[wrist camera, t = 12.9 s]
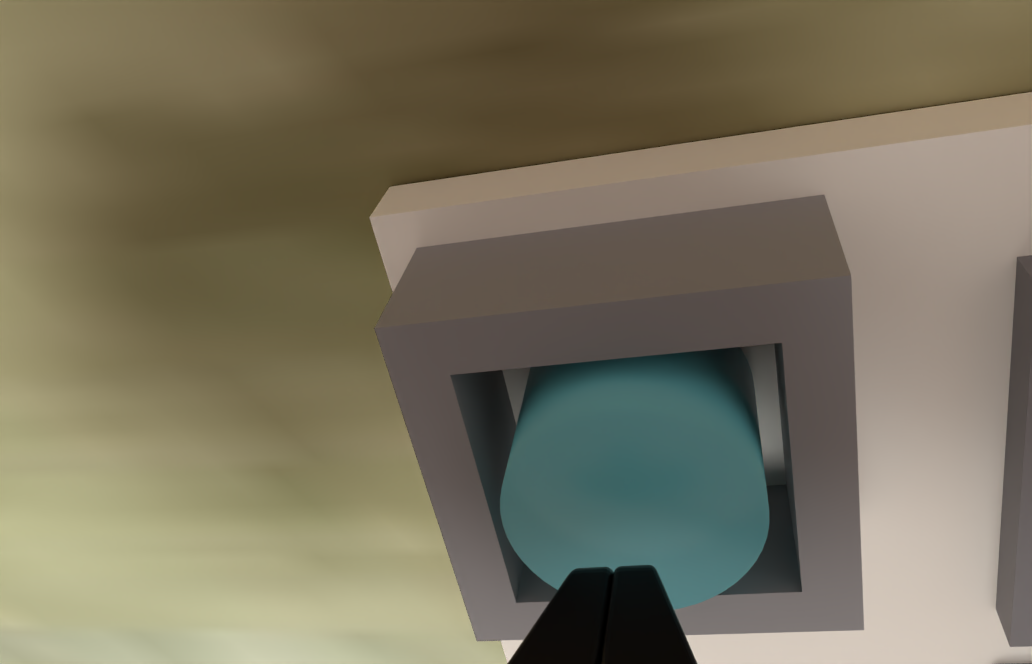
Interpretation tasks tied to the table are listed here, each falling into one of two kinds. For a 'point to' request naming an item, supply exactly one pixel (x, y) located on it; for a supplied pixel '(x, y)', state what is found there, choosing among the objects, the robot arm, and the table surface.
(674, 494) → the button
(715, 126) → the table surface
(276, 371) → the table surface
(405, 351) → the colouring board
